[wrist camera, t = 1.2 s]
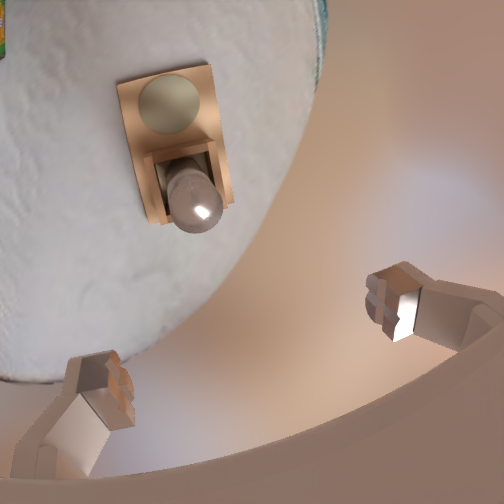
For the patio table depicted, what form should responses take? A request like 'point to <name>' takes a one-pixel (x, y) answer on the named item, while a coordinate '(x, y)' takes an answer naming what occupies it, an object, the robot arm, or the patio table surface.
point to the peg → (192, 196)
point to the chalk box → (2, 30)
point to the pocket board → (173, 133)
